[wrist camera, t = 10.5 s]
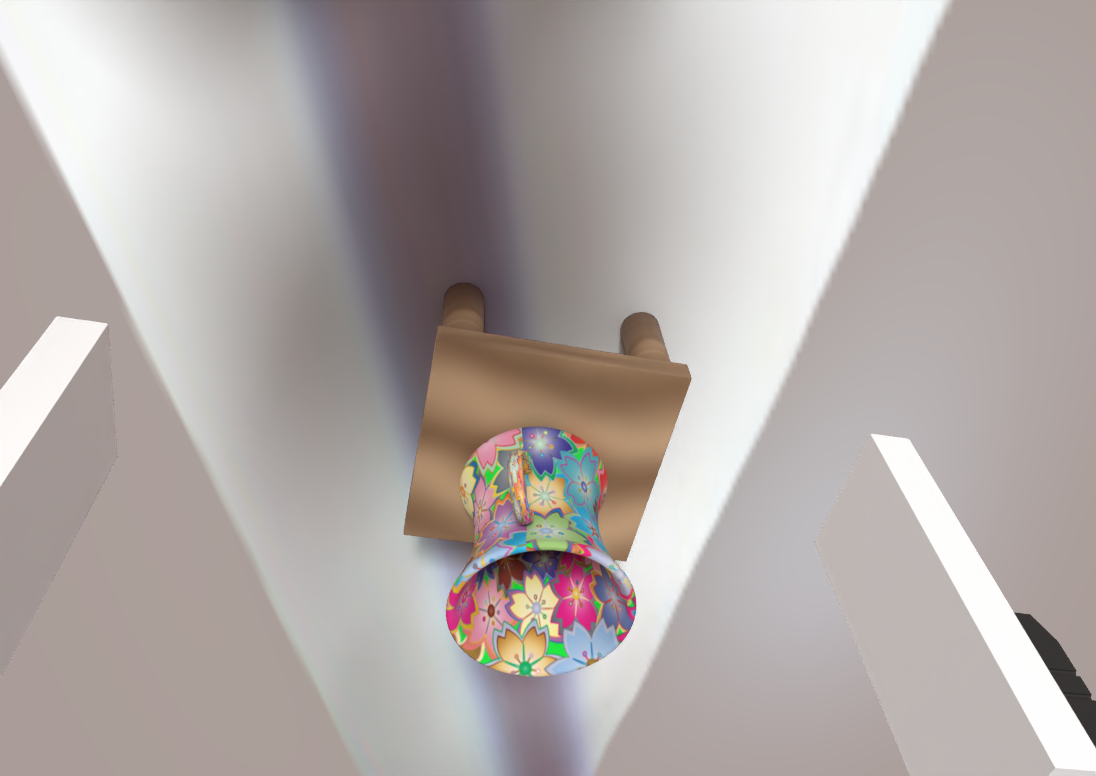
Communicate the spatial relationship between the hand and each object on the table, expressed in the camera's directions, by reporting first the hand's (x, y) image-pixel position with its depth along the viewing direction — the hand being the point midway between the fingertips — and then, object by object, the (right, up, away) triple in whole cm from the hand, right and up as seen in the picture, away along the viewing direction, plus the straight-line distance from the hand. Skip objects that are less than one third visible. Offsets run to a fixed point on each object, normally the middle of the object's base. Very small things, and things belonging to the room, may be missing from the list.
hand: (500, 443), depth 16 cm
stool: (0, +1, +43) cm, 43 cm away
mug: (0, -3, +37) cm, 37 cm away
